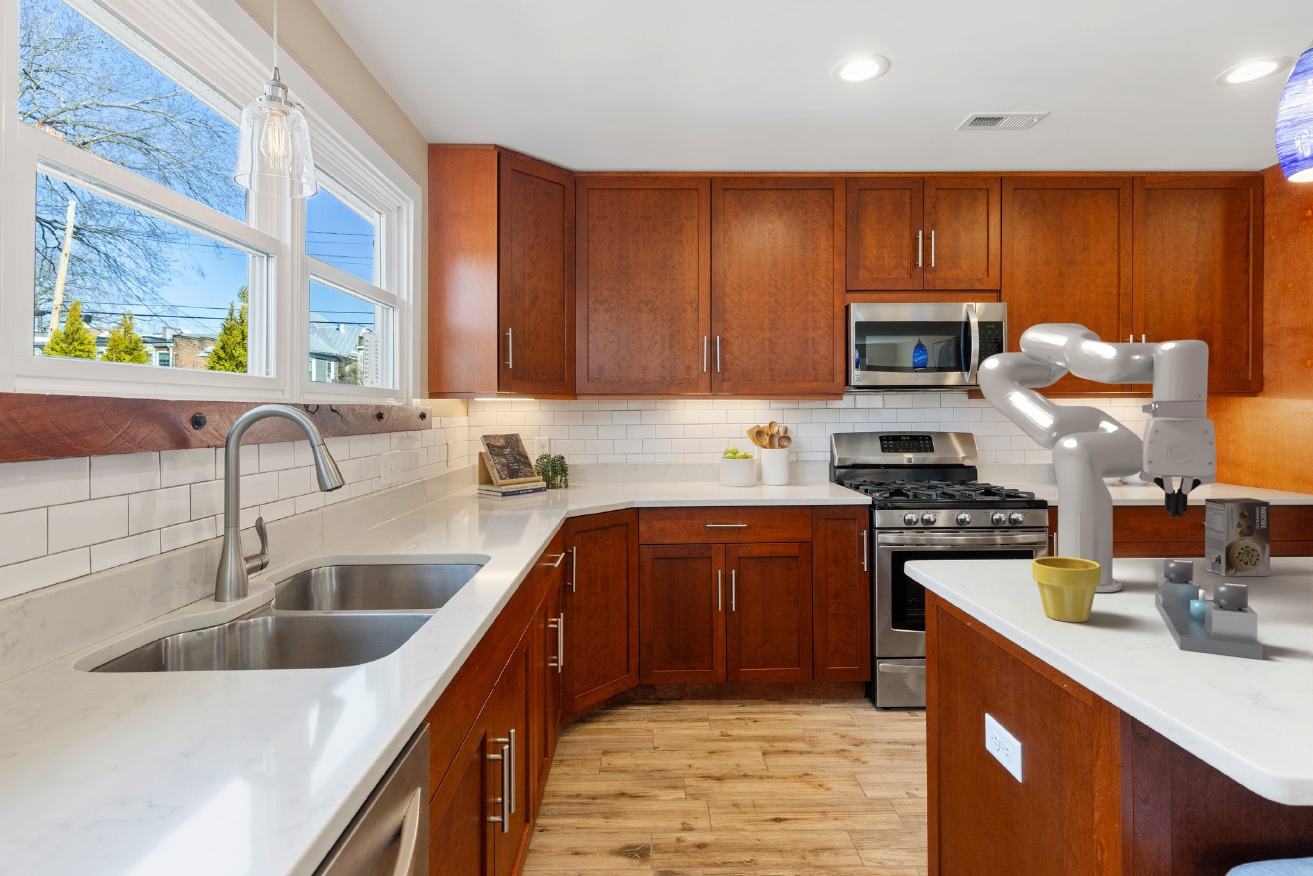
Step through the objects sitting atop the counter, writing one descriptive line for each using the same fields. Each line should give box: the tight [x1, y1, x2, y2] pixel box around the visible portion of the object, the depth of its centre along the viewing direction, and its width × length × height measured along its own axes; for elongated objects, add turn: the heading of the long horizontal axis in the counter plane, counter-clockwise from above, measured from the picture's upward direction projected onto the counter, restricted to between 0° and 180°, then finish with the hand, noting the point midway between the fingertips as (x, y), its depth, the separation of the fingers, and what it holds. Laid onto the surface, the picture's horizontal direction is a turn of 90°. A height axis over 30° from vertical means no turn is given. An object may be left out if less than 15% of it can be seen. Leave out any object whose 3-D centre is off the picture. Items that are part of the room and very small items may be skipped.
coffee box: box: [1204, 497, 1271, 577], centre depth 146 cm, size 9×6×16 cm
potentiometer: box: [1190, 588, 1206, 620], centre depth 111 cm, size 3×3×4 cm
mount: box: [1154, 575, 1264, 661], centre depth 111 cm, size 10×26×6 cm, turn 150°
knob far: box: [1163, 558, 1194, 583], centre depth 118 cm, size 4×4×7 cm
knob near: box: [1212, 581, 1249, 610], centre depth 103 cm, size 4×4×7 cm
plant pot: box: [1031, 556, 1101, 623], centre depth 118 cm, size 10×10×10 cm
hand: (1175, 515), depth 119 cm, fingers closed
